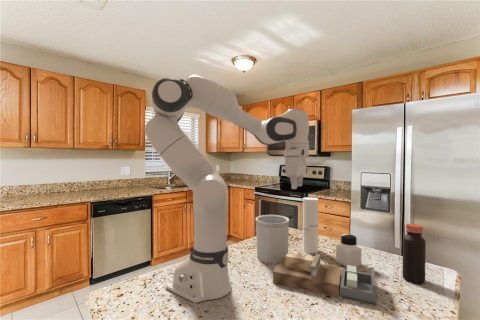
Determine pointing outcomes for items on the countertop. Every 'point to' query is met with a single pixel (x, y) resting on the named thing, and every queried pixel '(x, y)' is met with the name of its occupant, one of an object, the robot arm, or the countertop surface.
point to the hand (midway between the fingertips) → (296, 187)
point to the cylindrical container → (310, 225)
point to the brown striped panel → (324, 281)
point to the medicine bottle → (348, 251)
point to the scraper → (303, 263)
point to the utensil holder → (272, 238)
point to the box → (360, 287)
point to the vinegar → (414, 254)
